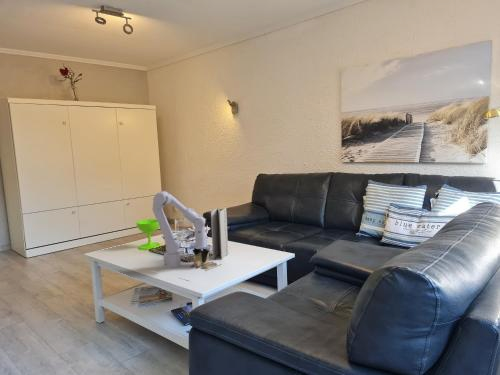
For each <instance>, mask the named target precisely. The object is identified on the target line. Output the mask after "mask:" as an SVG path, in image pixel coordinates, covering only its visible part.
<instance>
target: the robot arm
mask: <svg viewBox="0 0 500 375" xmlns="http://www.w3.org/2000/svg"><path fill="white" fill-rule="evenodd" d="M152 202H153V203H152V212H153V215H154V217H155V219H157V222H158V224H159V228H160V231H161V233H162V235H163V237H164V244H165V252H164V254H163V268H165V269H169V268H178V267H180V266H181V265H182V263H181V262H182V261H181V250H180V247H181V242H180V240H179V239H178V238H177V237H176V235H174V234H175V233H173V230H172V228H171V226H170V223H169V221H168V219H167V217H166V214H165V212H164V209H163V208H164V206H165V205H172V206H173V207H174V208H176V209H177V210H178V211H180V213H181V212H182V215H183V217H184V218H185V219H187V221H189V222H190V223H192V224H193V227H194V238H195V243H191V244H189V249H192V253H193V254H194V255H197V254H200V253H201V255H202V261H203V263H204V262H206V258H207V255H208V252H209V253H210V252H211V251H212V252H213V247H212V246H209V245H207V243H206V242H207V240H206V237H207V236H206V227H205V225H206V219H205V217H204V216H202V215H201V214H198V213H197V212H196V211H195V209H194V208H191V207H188V208H187V207H186V206H185V205H183V203H181V202H180V201H179V200H178V199H177V198H175V197H174V195H172V194H171V193H169V192H168V191H167V190H162V191H160V192H157V193H156V194H155V195H154V197H153V199H152Z"/></svg>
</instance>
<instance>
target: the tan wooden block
mask: <svg viewBox="0 0 500 375" xmlns="http://www.w3.org/2000/svg"><path fill="white" fill-rule="evenodd" d="M209 253H210V251H209V252H208V255H207V258H206V262H204V263H203V261H202V255H201V253H200V254H197V255H195V254H194V255H193V265H194V266H193V267H194V268H196V267H199V266H202V265H204V264H207V263H210V254H209Z"/></svg>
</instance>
